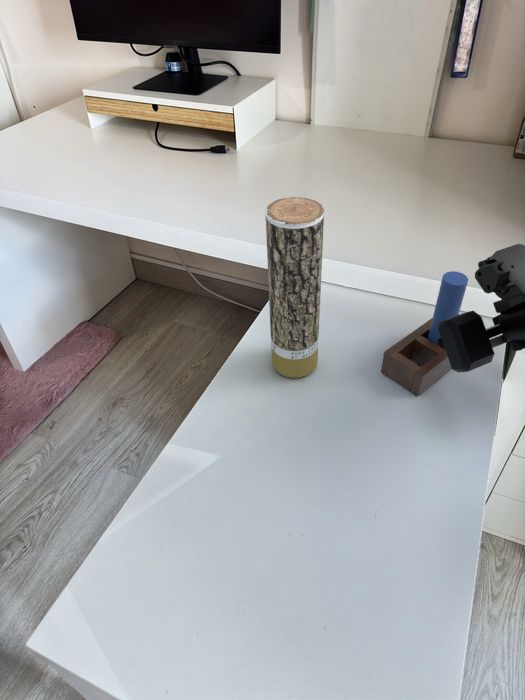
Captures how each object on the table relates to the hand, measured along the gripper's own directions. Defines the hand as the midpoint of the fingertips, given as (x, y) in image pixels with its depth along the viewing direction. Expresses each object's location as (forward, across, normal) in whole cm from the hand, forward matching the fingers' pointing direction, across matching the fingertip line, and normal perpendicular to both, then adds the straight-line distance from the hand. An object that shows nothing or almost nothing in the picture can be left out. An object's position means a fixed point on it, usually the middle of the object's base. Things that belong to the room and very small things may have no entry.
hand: (467, 332), depth 67 cm
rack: (+8, +2, +3) cm, 9 cm away
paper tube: (+14, +20, -3) cm, 24 cm away
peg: (+9, 0, +2) cm, 9 cm away
